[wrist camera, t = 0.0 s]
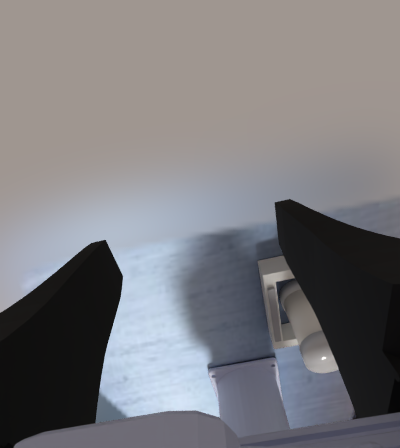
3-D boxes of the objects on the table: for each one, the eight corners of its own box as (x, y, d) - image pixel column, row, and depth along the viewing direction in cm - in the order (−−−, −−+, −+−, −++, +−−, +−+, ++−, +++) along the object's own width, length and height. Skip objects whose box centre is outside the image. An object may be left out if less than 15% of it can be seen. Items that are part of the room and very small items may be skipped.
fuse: (316, 302, 28) (351, 368, 22) (280, 309, 28) (305, 376, 22) (315, 275, 26) (353, 339, 20) (277, 283, 27) (303, 348, 20)
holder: (330, 321, 29) (341, 339, 27) (269, 332, 30) (274, 352, 28) (331, 245, 25) (344, 261, 23) (257, 260, 25) (263, 277, 23)
